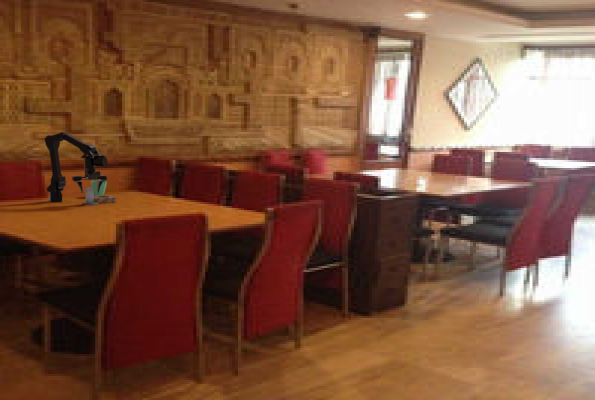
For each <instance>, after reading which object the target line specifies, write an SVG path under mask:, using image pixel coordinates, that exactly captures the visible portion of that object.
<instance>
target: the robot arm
mask: <svg viewBox="0 0 595 400" xmlns="http://www.w3.org/2000/svg"><path fill="white" fill-rule="evenodd" d="M62 141H65V142H67V143H69V144H71V145H72V146H75V147H77V149H79V151H80V152H81V153H82V154H83V155H82V156H80V158H81V159H84V176H81V175H72V177H71V179H72V181H73V182H75V183H76V184H77V185H78V188H79V190H80V193H81V194H83V193H84V192H83V181H84V180H85V181H97V192H99V190H100V187H101V184H102V183H103V182H105V181H108V176H107V175H105V174H101V171H100V170H99V171H98V170H97V171H96V167H99V168H106V167H107V166H108V165H109V164H108V163H109V161H108V158H107V157H106V155H105V154H104V155H102V154H100V152H99V151H98V149H97V147H96V145H95V144H93V143H92V144H91V143H90V142H85V141H83V140H81V139H80V138H77V137H76V136H73V135H71V134H69V132H67V131H61V132H58V133H56V134H50V135H47V136H45V138H44V142H45V146H46V148H47V149H48V152H49V159H50V168H51V178H50V184H49V185H48V187H46V192H48V193H49V194H48V195H49V196H48V198H49V200H48V202H50V203H62V202H63V193H62V192H63V191H64V189H65V187H66V184H67V181H66V176H63V175H62V169H61V162H60V161H61V160H60V156H59V155H60V154H59V148H60V145H61V142H62ZM82 180H83V181H82Z"/></svg>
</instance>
